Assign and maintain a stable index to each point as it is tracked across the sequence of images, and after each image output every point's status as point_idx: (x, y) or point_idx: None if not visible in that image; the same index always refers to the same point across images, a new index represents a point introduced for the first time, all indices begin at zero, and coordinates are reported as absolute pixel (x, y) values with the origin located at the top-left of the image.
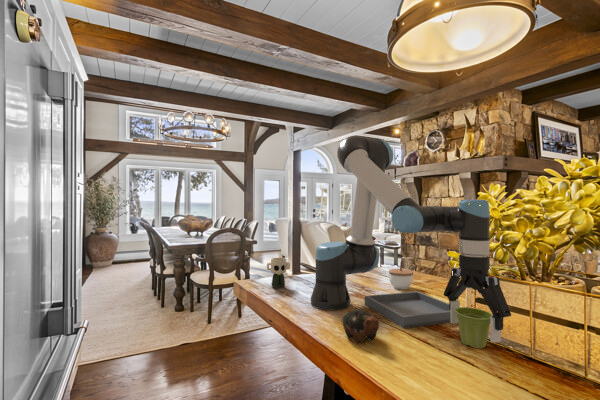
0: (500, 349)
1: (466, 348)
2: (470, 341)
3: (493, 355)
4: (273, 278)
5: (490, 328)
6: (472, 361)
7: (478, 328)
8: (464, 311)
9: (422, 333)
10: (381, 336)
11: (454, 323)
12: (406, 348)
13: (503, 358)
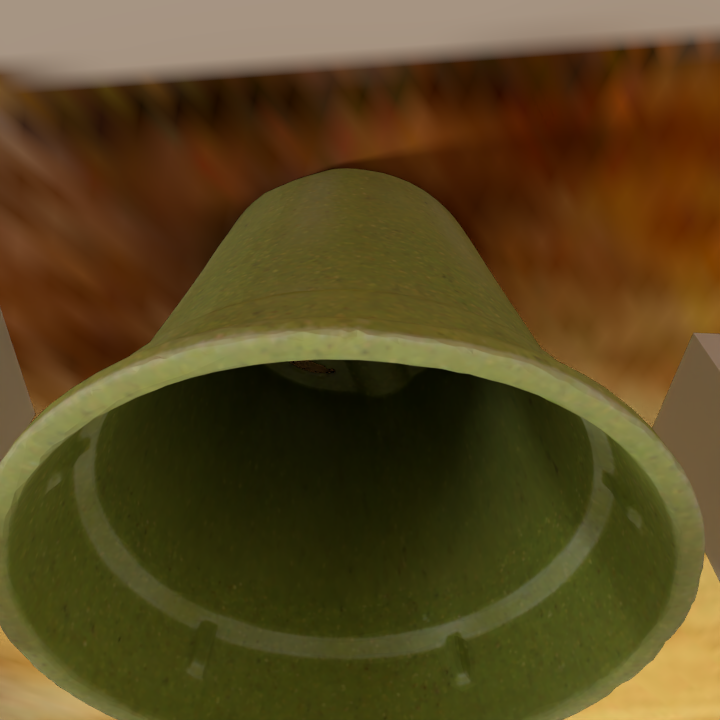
0: (592, 122)
1: None
2: (408, 422)
3: (623, 323)
4: None
5: (716, 572)
6: None
7: (516, 535)
8: (51, 506)
9: None
10: (53, 710)
11: (25, 386)
12: None
13: (717, 292)
